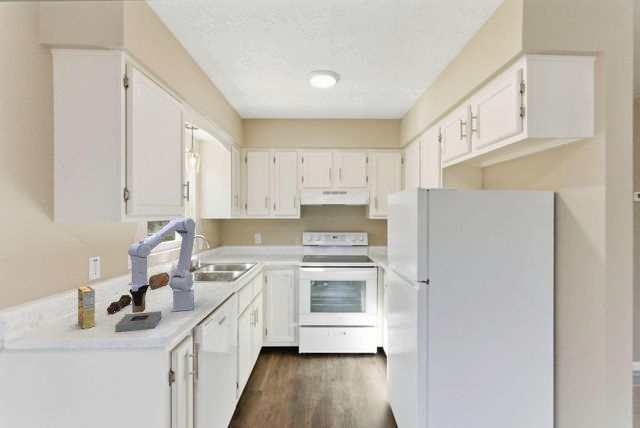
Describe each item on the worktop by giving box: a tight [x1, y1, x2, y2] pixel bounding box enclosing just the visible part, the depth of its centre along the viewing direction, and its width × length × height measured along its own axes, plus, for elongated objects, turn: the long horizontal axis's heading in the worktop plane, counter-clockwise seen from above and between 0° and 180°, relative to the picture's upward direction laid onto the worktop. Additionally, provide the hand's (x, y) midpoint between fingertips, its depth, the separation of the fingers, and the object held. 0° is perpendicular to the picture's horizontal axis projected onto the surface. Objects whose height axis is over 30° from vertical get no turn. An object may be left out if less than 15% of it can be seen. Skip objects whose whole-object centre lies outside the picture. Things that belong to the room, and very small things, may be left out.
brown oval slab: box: [148, 272, 170, 290], centre depth 194 cm, size 15×3×8 cm, turn 167°
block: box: [131, 293, 146, 314], centre depth 132 cm, size 4×4×7 cm
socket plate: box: [114, 310, 163, 333], centre depth 132 cm, size 14×14×2 cm
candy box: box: [77, 286, 96, 330], centre depth 130 cm, size 9×4×15 cm, turn 49°
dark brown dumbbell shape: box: [106, 294, 132, 314], centre depth 151 cm, size 6×5×15 cm
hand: (139, 304), depth 132 cm, fingers closed on block, 4 cm apart
